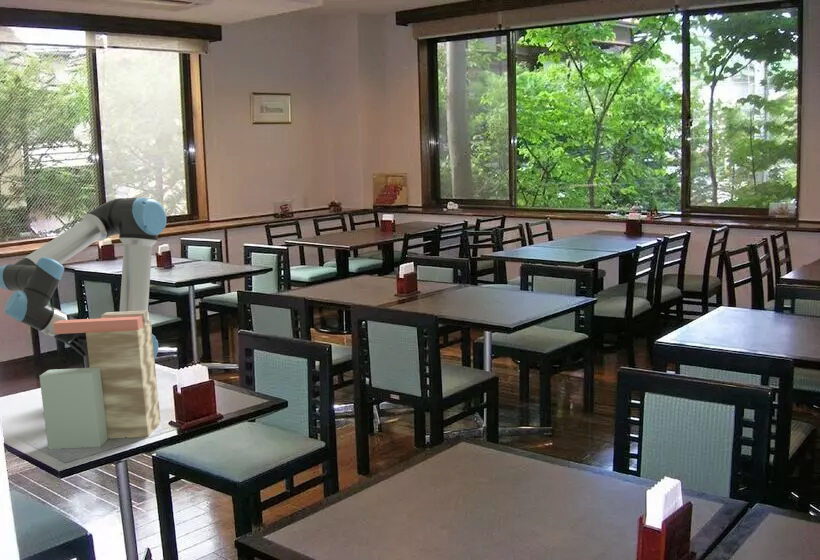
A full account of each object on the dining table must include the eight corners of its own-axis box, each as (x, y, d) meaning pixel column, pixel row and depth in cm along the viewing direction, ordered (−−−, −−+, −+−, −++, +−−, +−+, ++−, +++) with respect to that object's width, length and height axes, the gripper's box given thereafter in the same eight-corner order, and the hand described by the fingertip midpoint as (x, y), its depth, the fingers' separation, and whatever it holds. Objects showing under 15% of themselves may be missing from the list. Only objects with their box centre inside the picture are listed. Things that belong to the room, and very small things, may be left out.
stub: (60, 331, 234) (59, 320, 234) (143, 326, 234) (141, 316, 234) (54, 334, 230) (53, 323, 230) (138, 330, 230) (137, 319, 230)
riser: (57, 441, 234) (48, 369, 230) (107, 439, 234) (99, 367, 230) (48, 449, 228) (39, 375, 224) (100, 446, 228) (91, 373, 224)
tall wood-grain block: (112, 424, 246) (100, 312, 241) (160, 422, 246) (149, 309, 241) (97, 439, 234) (84, 320, 229) (148, 436, 234) (135, 318, 229)
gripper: (34, 345, 248) (97, 374, 261) (77, 327, 233) (142, 359, 246) (43, 323, 252) (105, 353, 265) (86, 304, 237) (149, 336, 250)
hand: (123, 356), depth 255 cm, fingers open, 13 cm apart
